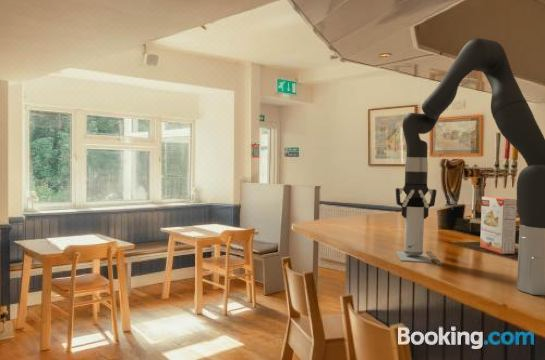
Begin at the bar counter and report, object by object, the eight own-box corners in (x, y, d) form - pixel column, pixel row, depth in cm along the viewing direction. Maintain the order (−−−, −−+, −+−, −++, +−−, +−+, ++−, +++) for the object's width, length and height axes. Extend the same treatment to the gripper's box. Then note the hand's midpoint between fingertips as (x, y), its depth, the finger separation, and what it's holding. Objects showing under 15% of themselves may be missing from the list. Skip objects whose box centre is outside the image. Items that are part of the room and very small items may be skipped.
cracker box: (478, 247, 185) (481, 195, 184) (492, 247, 186) (494, 196, 185) (500, 254, 171) (503, 198, 170) (515, 254, 172) (517, 198, 171)
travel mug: (411, 255, 157) (412, 197, 156) (400, 252, 163) (402, 196, 163) (426, 255, 159) (428, 197, 158) (416, 251, 165) (417, 196, 164)
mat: (431, 262, 153) (431, 261, 152) (400, 261, 154) (400, 259, 154) (424, 253, 168) (424, 252, 168) (396, 252, 170) (396, 251, 170)
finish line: (442, 265, 149) (442, 263, 149) (437, 265, 149) (437, 263, 149) (430, 252, 171) (430, 251, 171) (426, 252, 171) (426, 250, 171)
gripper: (396, 170, 158) (394, 218, 158) (439, 171, 155) (438, 220, 156) (394, 170, 165) (392, 216, 165) (435, 170, 163) (434, 217, 163)
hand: (414, 217), depth 161 cm, fingers closed on travel mug, 6 cm apart
